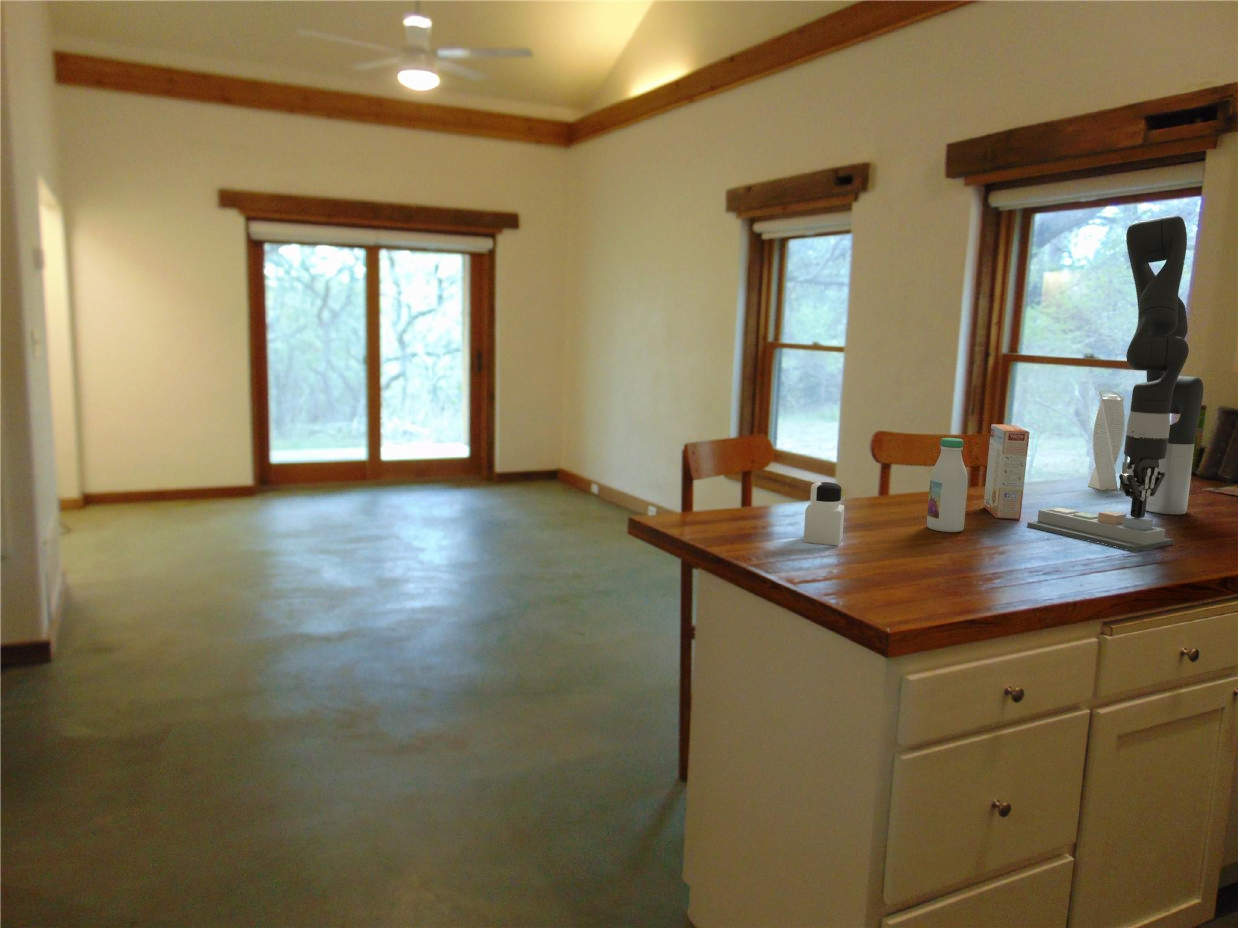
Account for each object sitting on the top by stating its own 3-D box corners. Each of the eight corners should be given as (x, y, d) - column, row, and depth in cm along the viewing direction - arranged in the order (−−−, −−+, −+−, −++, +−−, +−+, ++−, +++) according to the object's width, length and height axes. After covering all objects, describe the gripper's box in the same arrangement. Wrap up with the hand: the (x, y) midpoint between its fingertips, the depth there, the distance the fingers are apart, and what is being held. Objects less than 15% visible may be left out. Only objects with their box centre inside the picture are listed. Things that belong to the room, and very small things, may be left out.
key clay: (1107, 523, 191) (1109, 510, 190) (1125, 526, 187) (1126, 514, 187) (1097, 525, 189) (1098, 512, 188) (1114, 528, 185) (1116, 515, 185)
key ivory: (1059, 519, 200) (1061, 507, 200) (1075, 523, 197) (1076, 510, 196) (1049, 521, 198) (1050, 509, 198) (1065, 524, 195) (1066, 512, 195)
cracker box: (1022, 520, 204) (1030, 430, 200) (994, 519, 205) (1002, 429, 201) (1008, 508, 217) (1016, 424, 214) (982, 506, 218) (990, 423, 215)
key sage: (1082, 524, 195) (1084, 512, 195) (1099, 528, 192) (1100, 515, 192) (1072, 526, 194) (1073, 514, 193) (1088, 530, 190) (1090, 517, 190)
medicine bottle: (842, 538, 184) (846, 481, 182) (839, 546, 177) (842, 487, 175) (807, 535, 186) (810, 479, 184) (803, 542, 179) (806, 484, 177)
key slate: (1133, 528, 186) (1134, 515, 185) (1151, 532, 183) (1152, 519, 182) (1122, 530, 184) (1124, 517, 184) (1140, 534, 181) (1142, 521, 180)
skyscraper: (1101, 492, 242) (1112, 390, 237) (1080, 487, 250) (1090, 388, 245) (1127, 492, 243) (1139, 391, 239) (1106, 486, 251) (1116, 388, 247)
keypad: (1065, 520, 204) (1067, 505, 204) (1172, 544, 184) (1174, 527, 183) (1027, 526, 198) (1028, 511, 197) (1134, 551, 177) (1136, 534, 176)
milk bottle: (964, 527, 196) (972, 438, 192) (962, 534, 189) (970, 442, 186) (928, 523, 199) (935, 435, 196) (924, 530, 192) (931, 439, 189)
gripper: (1147, 431, 187) (1137, 511, 189) (1110, 433, 180) (1100, 516, 183) (1184, 435, 180) (1173, 518, 183) (1147, 437, 174) (1136, 523, 176)
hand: (1137, 517), depth 183 cm, fingers closed
